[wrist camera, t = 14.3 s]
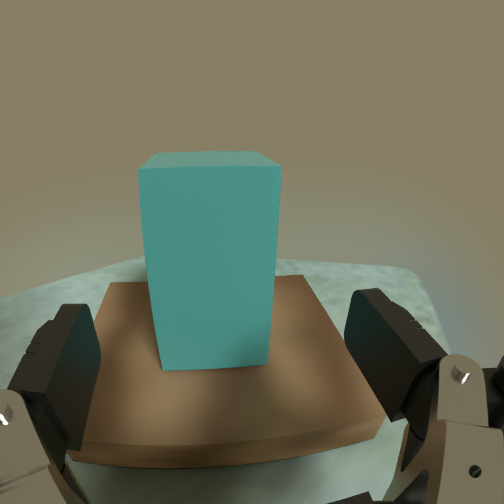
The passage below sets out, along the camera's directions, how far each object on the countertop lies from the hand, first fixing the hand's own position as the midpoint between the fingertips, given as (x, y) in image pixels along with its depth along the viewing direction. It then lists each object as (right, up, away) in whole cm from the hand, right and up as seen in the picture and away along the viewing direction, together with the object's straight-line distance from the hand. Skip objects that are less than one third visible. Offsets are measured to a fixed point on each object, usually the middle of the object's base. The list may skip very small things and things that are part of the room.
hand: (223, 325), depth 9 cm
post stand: (-2, -6, +12) cm, 13 cm away
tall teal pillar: (-2, -3, +11) cm, 11 cm away
